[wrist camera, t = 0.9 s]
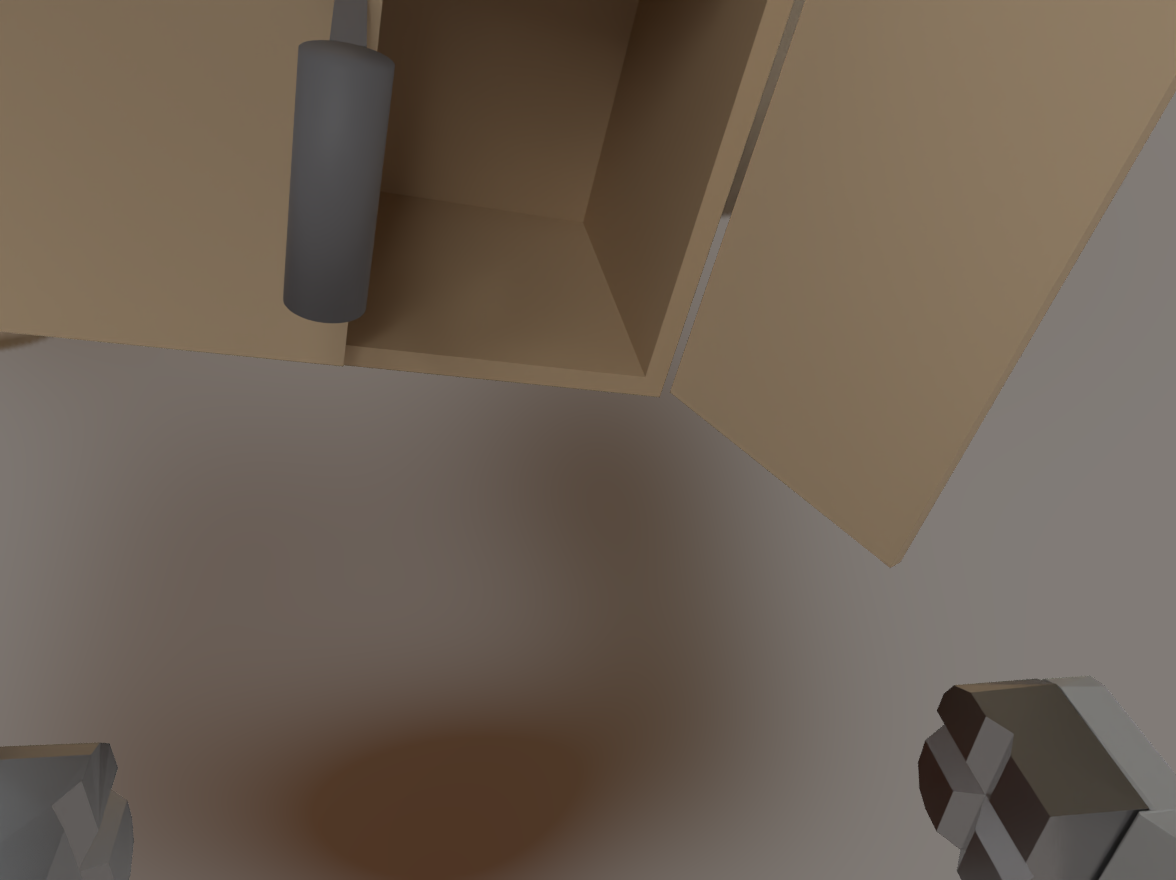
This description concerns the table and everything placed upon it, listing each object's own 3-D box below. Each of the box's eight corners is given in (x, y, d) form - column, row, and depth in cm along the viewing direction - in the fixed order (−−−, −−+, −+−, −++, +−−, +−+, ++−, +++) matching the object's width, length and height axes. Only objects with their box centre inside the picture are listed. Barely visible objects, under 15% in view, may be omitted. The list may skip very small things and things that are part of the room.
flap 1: (-95, -407, 19) (-292, -449, 14) (418, -259, 22) (434, -243, 17) (0, 321, 29) (-91, 474, 23) (349, 357, 32) (345, 501, 26)
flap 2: (669, 392, 35) (681, 389, 36) (890, 568, 30) (900, 562, 30) (851, -135, 26) (864, -131, 26) (1227, -15, 20) (1236, -13, 20)
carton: (61, -389, 30) (-114, -437, 19) (704, -200, 36) (846, -155, 25) (94, 158, 40) (-8, 329, 29) (592, 233, 46) (659, 397, 36)
